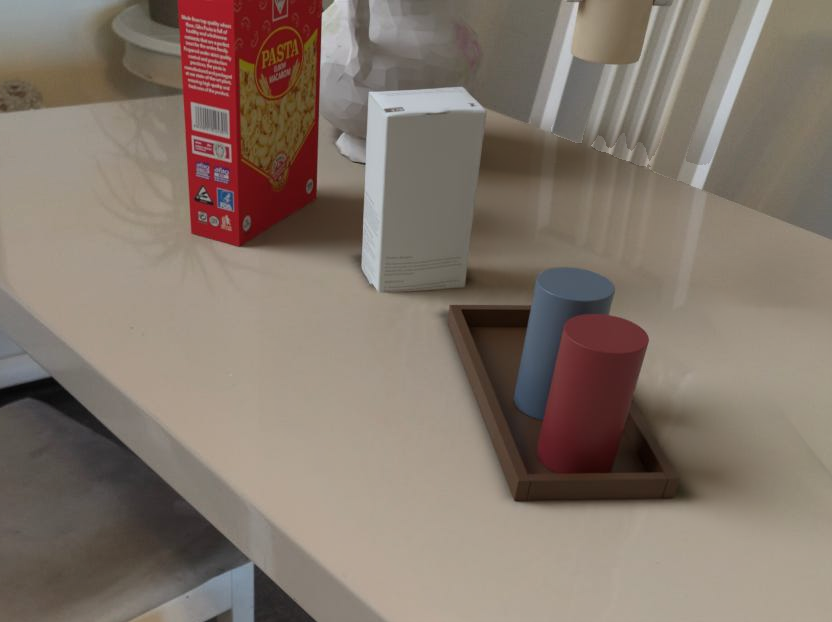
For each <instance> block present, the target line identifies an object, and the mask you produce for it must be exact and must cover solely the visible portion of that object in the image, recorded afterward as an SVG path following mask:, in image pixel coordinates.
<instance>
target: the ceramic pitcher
mask: <svg viewBox="0 0 832 622" xmlns="http://www.w3.org/2000/svg"><path fill="white" fill-rule="evenodd" d="M483 65H484V50H483V45H482V40H481V37H480V35H479V34H478V32H477V31H476V30H475V29H474V27H473V26H472V25H471V24H470V23H469V22H468V21H467V20H466V18H465V17H464V16H463V15H462V13H461V12H460V11H459V10H458V8H457V6H456V4H455V2H454V0H333V2H332V3H331V4H330V5H329V6H328V7H327V8H326V9H325V10H324V11H322V31H321V65H320V98H319V115H321V116H322V117H323V119H324V120H325V121H327V122H328V123H329V124H330V125H332V127H334V128H336V129H337V130H340V131H342V133H341V134H340V136H339V137H338V139H337V140H336V141H334V144H335V146H336V148H337V150H338V151H339V152H340V154H341V155H343V156H344V157H346V158H347V159H348V160H350V161H351V162H354V163H355V162H357V163H361V164H366V138H367V119H368V98H369V92H382V91H402V90H421V89H436V88H450V87H463V88H464V89H466V91H467V92H468V93H469V94H470V95H471V96H472V97H473V98H474V99H475V100H476V97H477V95H478V94H477V93H478V90H479V87H480V83H481V80H482V73H483Z"/></svg>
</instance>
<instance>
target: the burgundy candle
mask: <svg viewBox="0 0 832 622" xmlns="http://www.w3.org/2000/svg"><path fill="white" fill-rule="evenodd" d="M649 342H650V338H649V334H648V333H647V332H646V330H645V329H644V328H643V327H641V326H640V325H638V324H636V323H635V322H633V321H631V320H628V319H626V318H623V317H619V316H616V315H611V314H609V315H605V314H584V315H579V316H575V317H573V318H571V319H569V320H568V321H567V322H566V323H565V325H564V328H563V333H562V337H561V342H560V346H559V351H558V355H557V360H556V364H555V369H554V374H553V378H552V383H551V387H550V392H549V396H548V401H547V406H546V410H545V415H544V419H543V424H542V428H541V433H540V437H539V442H538V447H537V457H538V459H539V461H540V462H541V463H542V464H543V465H544V466H545V467H546V468H547V469H549V470H551V471H552V472H554V473H557V474H578V473H609V472H610V471H611V469H612V468H613V465H614V461H615V458H616V454H617V451H618V447H619V444H620V440H621V437H622V433H623V430H624V426H625V423H626V419H627V416H628V413H629V409H630V406H631V402H632V400H633V398H634V394H635V391H636V388H637V385H638V381H639V378H640V374H641V370H642V366H643V363H644V360H645V357H646V352H647V350H648V346H649Z"/></svg>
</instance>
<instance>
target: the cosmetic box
mask: <svg viewBox="0 0 832 622" xmlns="http://www.w3.org/2000/svg"><path fill="white" fill-rule="evenodd" d="M487 114H488V111H487V109H486V108H484V107H483V105H482V104H480V103H479V101H478V100H476V98H475V99H474V98H473V97H472V96H471V95H470V94H469V93H468V92H467V91H466V89H464V88H463V87H450V88H436V89H421V90H402V91H382V92H369V98H368V119H367V138H366V163H365V171H364V173H365V174H364V176H365V178H364V196H363V197H364V199H363V217H362V218H363V219H362V223H363V224H362V244H361V245H362V248H361V271H362V272H363V274H364V275H365V277H366V280H367V281H368V282H369V284H370V285H373V286H374V289H376V291H377V292H378V293H397V292H398V293H399V292H400V293H401V292H415V291H416V292H417V291H431V290H433V291H434V290H442V289H455V288H465V287H466V281H467V280H466V279H467V272H468V264H469V255H470V248H471V247H470V246H471V239H472V230H473V222H474V215H475V204H476V199H477V190H478V184H479V175H480V167H481V158H482V150H483V144H484V143H483V142H484V133H485V127H486V119H487Z"/></svg>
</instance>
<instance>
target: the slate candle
mask: <svg viewBox="0 0 832 622" xmlns="http://www.w3.org/2000/svg"><path fill="white" fill-rule="evenodd" d="M615 291H616V288H615V285H614V283H613V282H612V281H611V280H610V279H609V278H607V277H606V276H604V275H602V274H600V273H598V272H594V271H592V270H588V269H584V268H579V267H571V266H570V267H567V266H563V267H562V266H561V267H552V268H548V269H544V270H543V271H541V272H540V273H539V274H538V275H537V277H536V280H535V284H534V290H533V294H532V295H533V296H532V301H531V304H530V305H531V310H530V316H529V321H528V326H527V331H526V336H525V342H524V347H523V352H522V357H521V363H520V368H519V373H518V378H517V383H516V389H515V394H514V402H515V405H516V406H517V408H518V409H519V410H520V411H522V412H523V413H525V414H526V415H528V416H530V417H533V418H536V419H539V420H543V419H544V415H545V410H546V406H547V401H548V396H549V392H550V387H551V383H552V378H553V374H554V369H555V364H556V360H557V355H558V351H559V346H560V342H561V337H562V333H563V328H564V325H565V323H566V322H567V321H568V320H569V319H571V318H573V317H575V316H579V315H584V314H605V315H610V312H611V308H612V304H613V300H614V295H615V293H616V292H615Z"/></svg>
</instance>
